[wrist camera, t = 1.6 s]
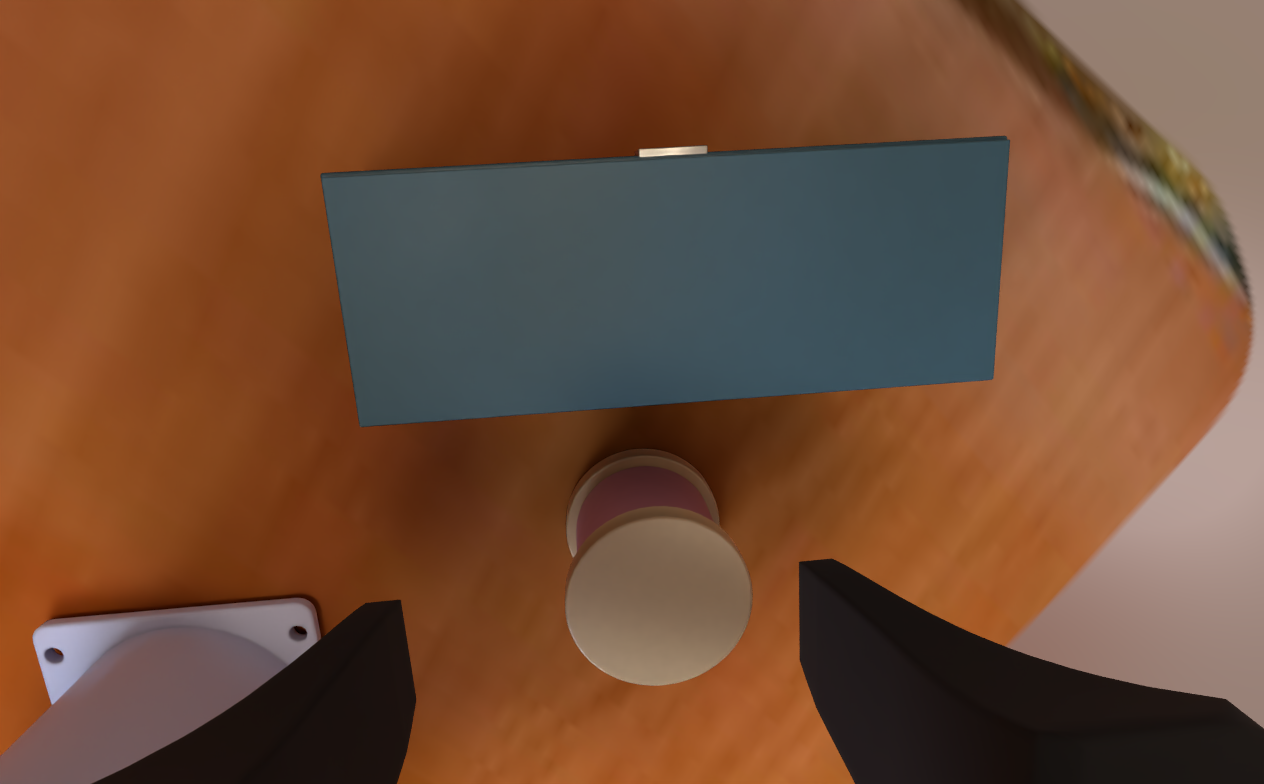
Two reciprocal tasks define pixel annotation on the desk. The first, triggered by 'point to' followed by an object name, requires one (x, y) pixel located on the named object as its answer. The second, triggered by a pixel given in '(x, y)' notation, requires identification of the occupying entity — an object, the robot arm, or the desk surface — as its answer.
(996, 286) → the pencil box
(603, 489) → the spool
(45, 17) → the desk surface
